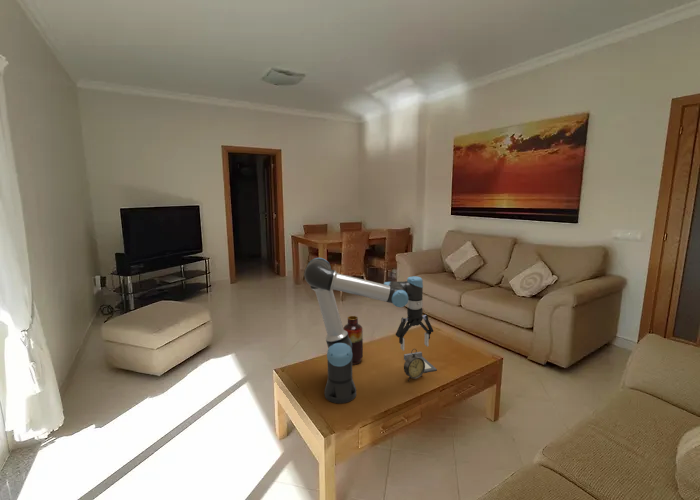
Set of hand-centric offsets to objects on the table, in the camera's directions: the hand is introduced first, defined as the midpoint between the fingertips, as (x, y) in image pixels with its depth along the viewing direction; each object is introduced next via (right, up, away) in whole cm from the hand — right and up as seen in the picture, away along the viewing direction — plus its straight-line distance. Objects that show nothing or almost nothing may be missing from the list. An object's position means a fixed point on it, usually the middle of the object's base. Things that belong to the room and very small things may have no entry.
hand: (414, 347), depth 172 cm
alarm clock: (0, -17, +3) cm, 17 cm away
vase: (-31, -14, +22) cm, 41 cm away
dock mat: (+6, -15, +16) cm, 22 cm away
